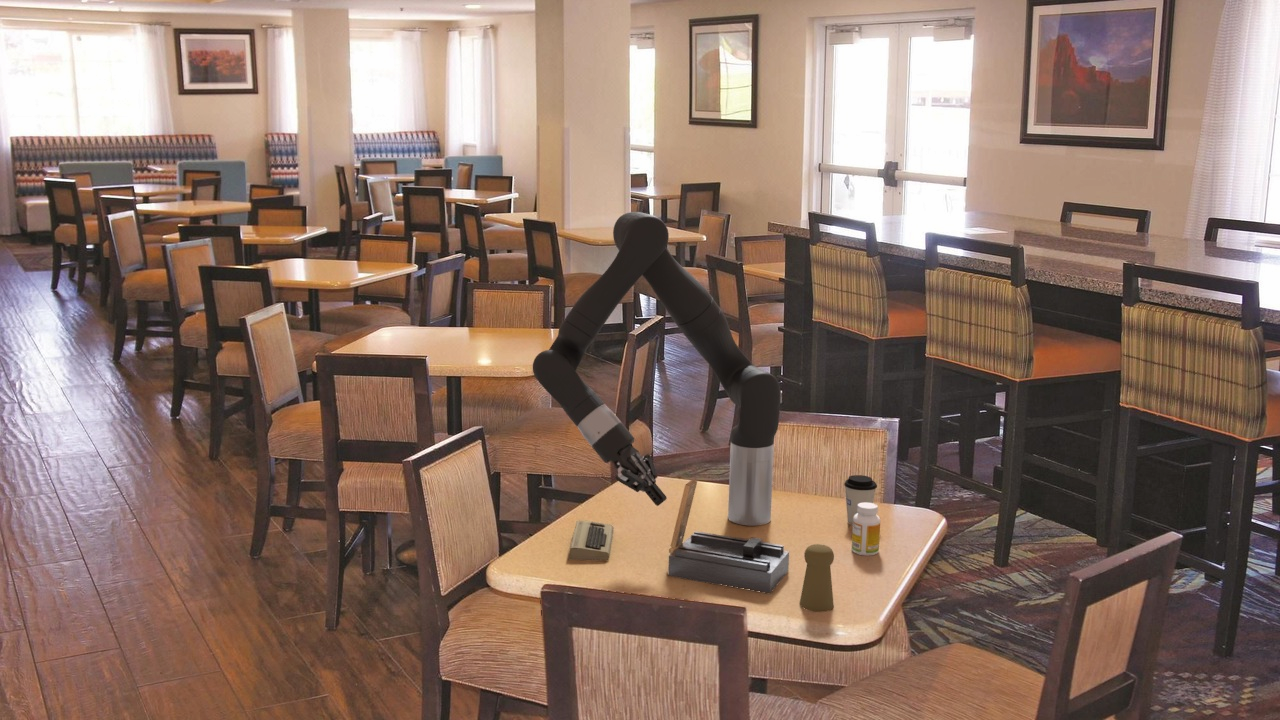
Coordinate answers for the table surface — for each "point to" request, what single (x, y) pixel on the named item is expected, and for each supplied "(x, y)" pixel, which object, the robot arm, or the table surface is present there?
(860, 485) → the coffee cup
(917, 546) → the table surface
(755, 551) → the grey slider box
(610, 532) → the computer
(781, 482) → the table surface
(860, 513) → the supplement bottle
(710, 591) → the table surface
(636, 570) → the table surface
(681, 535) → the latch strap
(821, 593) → the olive pawn
